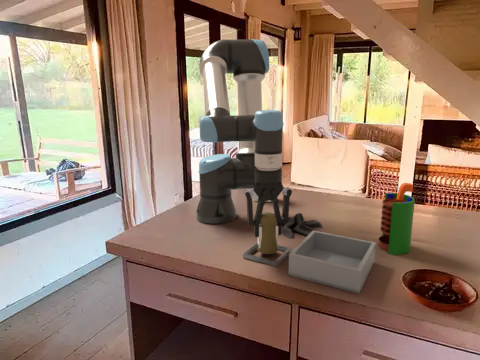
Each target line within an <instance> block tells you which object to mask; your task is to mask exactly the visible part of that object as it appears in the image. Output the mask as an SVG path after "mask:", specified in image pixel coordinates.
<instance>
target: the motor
mask: <svg viewBox="0 0 480 360" xmlns="http://www.w3.org/2000/svg"><path fill="white" fill-rule="evenodd" d="M407 192H408V193H409V192H410V193H414V184H412V183H410V182H409V183H408V182H404V183H401V184H400V186H399V188H398V191H397V192H385V193H384V199H382V202H381V203H382V206H381V210H382V211H381V214H380V215H381V217H380V221H381V222H380V228H379V229H380V230H379V231H380V233H381V235H380V236H379V237H378V240H377V241H378V242H377V247H378V248H379V249H380V250H382V251H384V252H388V253H387V254H389V255H395V256H396V255H397V256H399V255H405V254H409V252H410V251H411V245H412V244H411V242H412V231H413V221H414V212H415V203H416V201H415V200H416V199H415V198H414V197H413V196H411V195H407V194H406V193H407Z"/></svg>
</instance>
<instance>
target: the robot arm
mask: <svg viewBox="0 0 480 360" xmlns="http://www.w3.org/2000/svg"><path fill="white" fill-rule="evenodd" d="M269 70H270V54H269V50H268V46H267V44H266V42H265V41H264V40H262V39H253V38H250V39H220V40H217V41H214V42H213V43H211V44H210V45H208V47H206V49H204V51H203V52H202V55H201V56H200V58H199V72H200V75H201V76H202V81H203V82H202V83H203V84H202V86H203V99H204V101H203V102H204V116H199V119H198V121H199V139H200V141H201V142H202V143H213V144H214V143H225V142H226V143H227V142H228V143H229V142H230V143H231V142H239V149H238V150H237V152H235V157H232V156H231V155H230V154H229V153H217V154H212V155H208V156H205V157H203V158H202V159H200V160H199V162H198V175H199V196H200V197H199V201H198V204H197V208H196V212H195V213H196V220H197V221H199V222H201V223H205V224H210V225H212V224H213V225H214V224H215V225H216V224H217V225H218V224H225V223H229V222H232V221H234V220H235V219H236V218H237V209H236V206H235V203H234V200H233V197H232V191H233V190H235V191H237V190H243V193H244V194H245V198H246V213H247V214H246V217H247V222H248V225H249V226H252V227H253V234H254V237H255V238H257V243H258V244H259V249H260V246H261V240H262V226H261V225H260V220H261V216H262V213H263V211H264V206H265V204H266V202H265V201H268V200H271V204H272V208H273V212H274V213H273V214H275V215H276V218H277V223H276V225H275V233H276V242H277V247H278V245H279V236H281V235H282V230H283V226H282V225H283V223H287V222H288V218H289V217H290V200H291V196H292V193H293V190H292V189H291V188H290V187H285V186H284V185H283V183H282V182H283V169H282V168H281V167H283V139H284V138H283V135H284V134H283V131H284V130H283V128H284V118H283V113H282V111H281V110H276V109H263V106H262V105H263V104H262V103H263V102H262V81H263V80H264V79H265V78H266V74H267V73H269V72H270V71H269ZM226 74H232V76H233V80H234V81H235V82H236V84H237V98H238V99H237V100H238V115H231V110H230V104H229V95H228V87H227V79H226ZM254 192H255V193H256V194H257V196H258V201H257V205H256V209H255V215H254V213H253V212H254V209H253V208H254V206H253V193H254ZM281 193H282V209H281V210H282V211H281V210H280V205H279V198H278V197H279V196H280V194H281ZM281 212H282V213H281ZM281 217H282V218H281Z"/></svg>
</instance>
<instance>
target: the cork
mask: <svg viewBox="0 0 480 360" xmlns="http://www.w3.org/2000/svg"><path fill="white" fill-rule="evenodd" d="M276 223H277V218H276V215H275V214H274V213H272V212H262V216H261V220H260V225H261V226H262V240H261V246H260V249H259V244H258V248H257V249H256V251H258V253H261V254H264V255H272V254H276V253H277V252H279V250H278V247H277V242H276V233H275V225H276Z"/></svg>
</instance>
